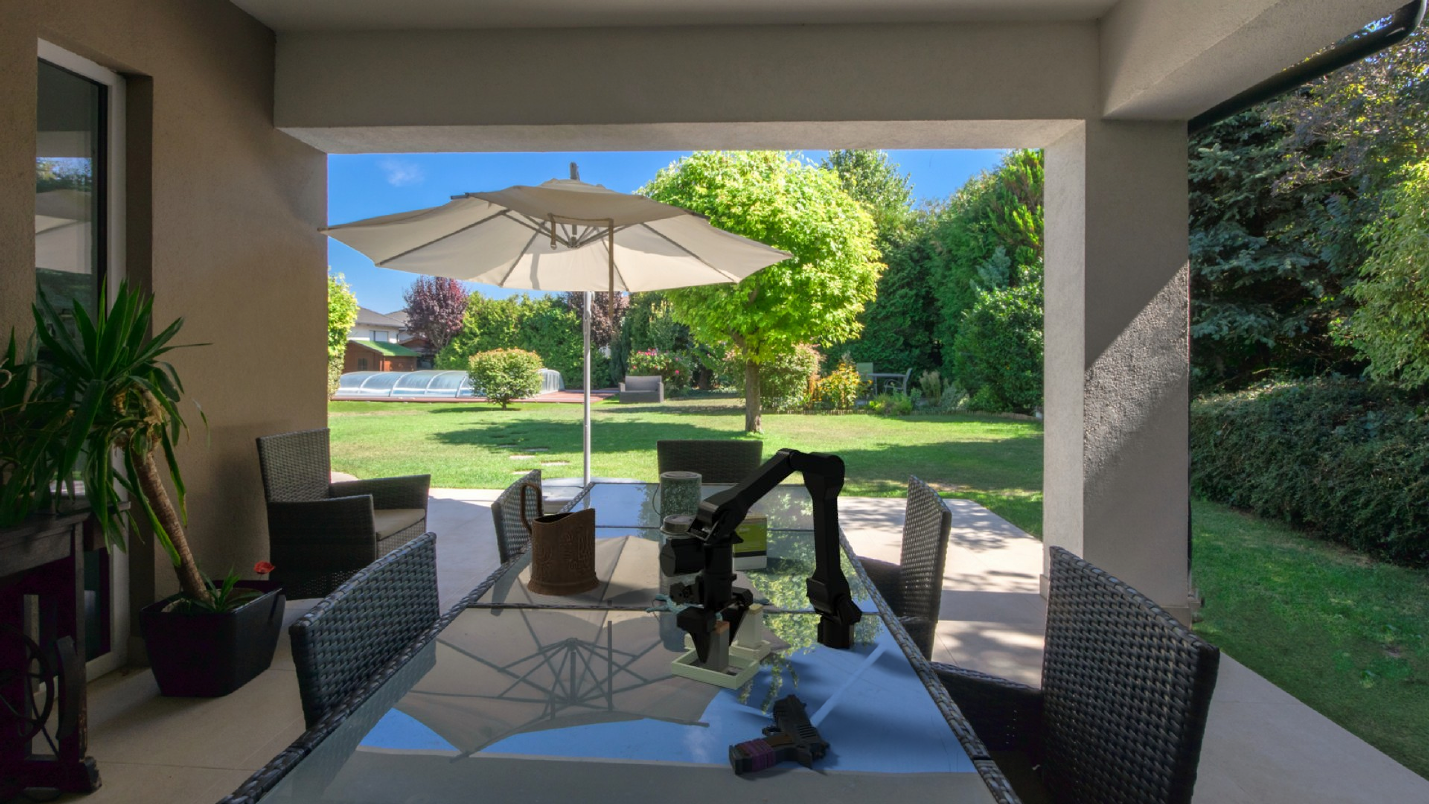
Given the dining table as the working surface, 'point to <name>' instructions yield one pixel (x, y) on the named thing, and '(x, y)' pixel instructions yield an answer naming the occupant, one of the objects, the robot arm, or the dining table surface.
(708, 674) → the tray
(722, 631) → the block
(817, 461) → the robot arm
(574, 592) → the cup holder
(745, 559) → the tea box
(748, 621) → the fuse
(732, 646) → the fuse block
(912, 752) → the dining table surface
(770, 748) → the handgun
